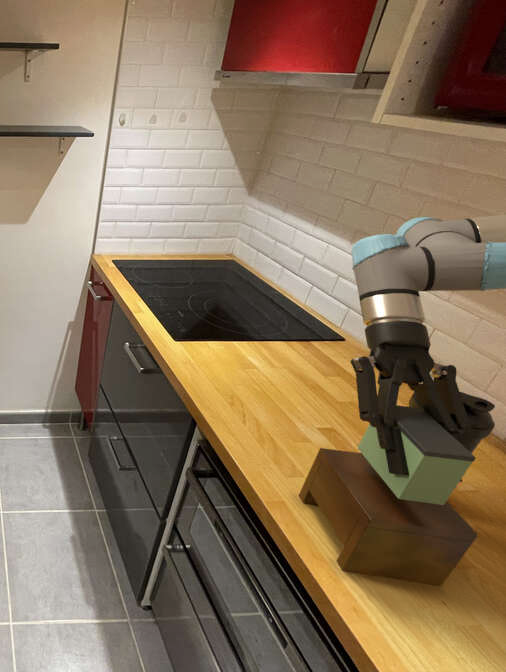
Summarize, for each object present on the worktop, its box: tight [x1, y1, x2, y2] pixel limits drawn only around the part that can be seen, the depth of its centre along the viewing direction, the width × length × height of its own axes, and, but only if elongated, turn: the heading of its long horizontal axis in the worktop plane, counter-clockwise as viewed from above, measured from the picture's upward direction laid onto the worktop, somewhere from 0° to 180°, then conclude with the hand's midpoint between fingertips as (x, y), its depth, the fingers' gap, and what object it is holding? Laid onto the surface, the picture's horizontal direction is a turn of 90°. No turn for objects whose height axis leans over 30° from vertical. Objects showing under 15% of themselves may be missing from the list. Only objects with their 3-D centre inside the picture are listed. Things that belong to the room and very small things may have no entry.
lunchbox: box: [357, 404, 477, 505], centre depth 68 cm, size 6×10×10 cm, turn 171°
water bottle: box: [408, 388, 496, 455], centre depth 80 cm, size 10×10×23 cm
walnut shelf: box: [298, 447, 479, 587], centre depth 74 cm, size 14×14×12 cm
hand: (424, 477), depth 66 cm, fingers closed on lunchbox, 6 cm apart
